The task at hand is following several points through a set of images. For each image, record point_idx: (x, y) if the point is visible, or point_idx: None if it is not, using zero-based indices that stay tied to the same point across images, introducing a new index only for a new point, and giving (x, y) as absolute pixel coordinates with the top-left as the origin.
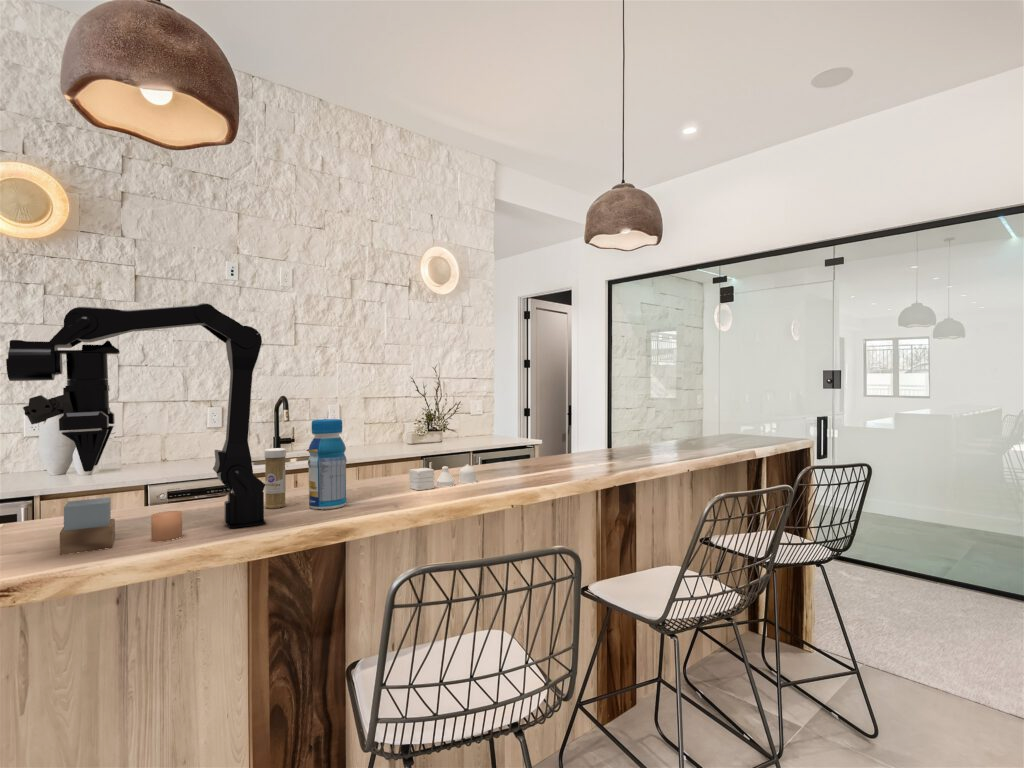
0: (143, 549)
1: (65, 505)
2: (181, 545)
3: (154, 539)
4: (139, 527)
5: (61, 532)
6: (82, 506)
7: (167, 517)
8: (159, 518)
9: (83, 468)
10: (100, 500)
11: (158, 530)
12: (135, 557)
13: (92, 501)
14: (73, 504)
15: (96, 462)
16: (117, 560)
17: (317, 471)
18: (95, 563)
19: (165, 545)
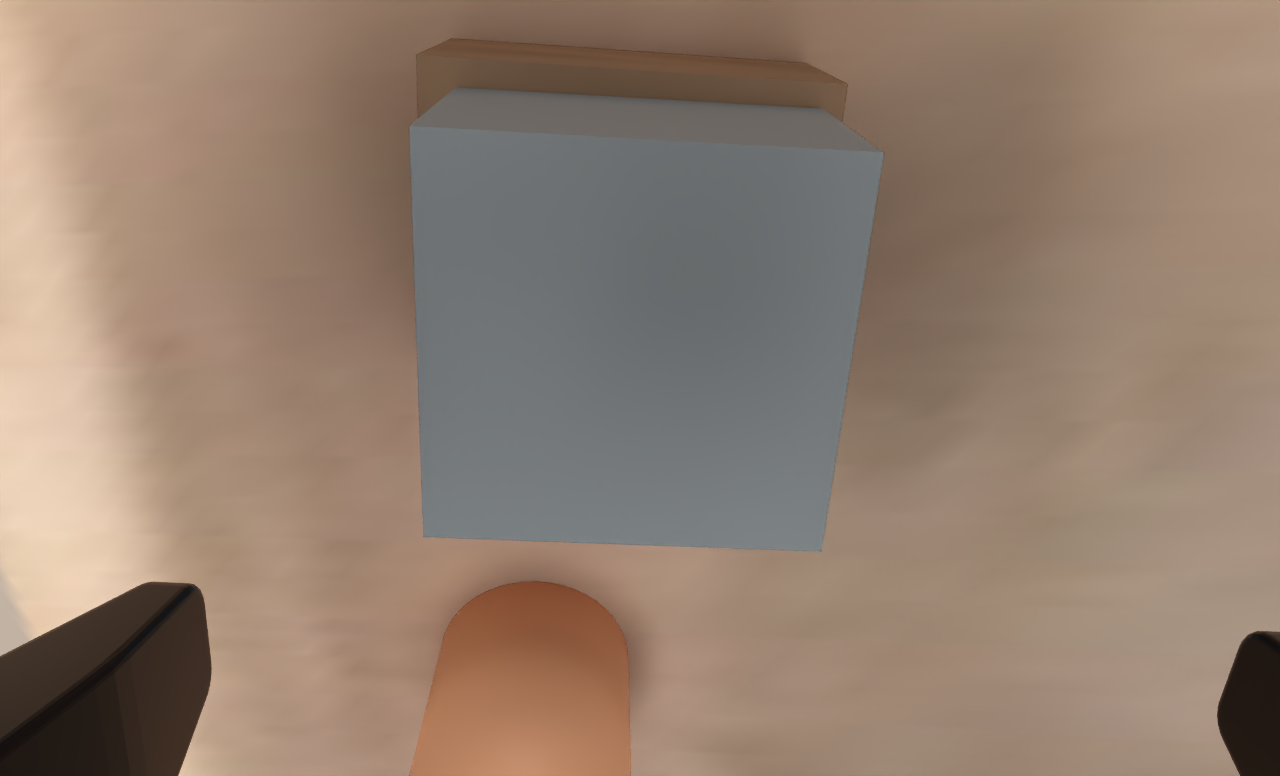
0: (273, 533)
1: (541, 137)
2: (248, 711)
3: (478, 604)
4: (1067, 534)
5: (417, 68)
6: (421, 306)
7: None
8: (423, 740)
9: (103, 609)
10: (653, 468)
11: (445, 667)
12: (61, 487)
13: (642, 398)
14: (560, 219)
15: (1250, 753)
16: (34, 395)
17: None
18: (19, 275)
19: (308, 642)
